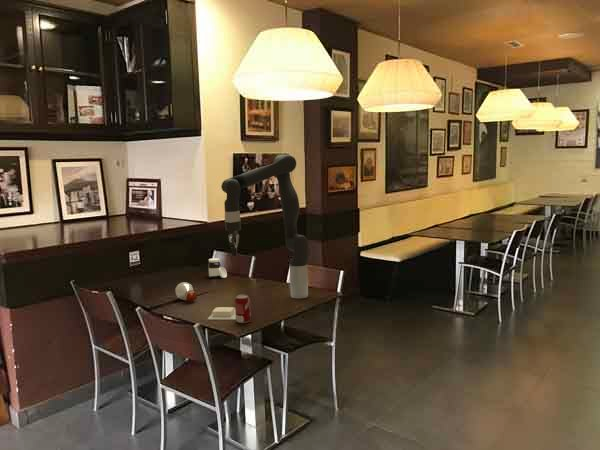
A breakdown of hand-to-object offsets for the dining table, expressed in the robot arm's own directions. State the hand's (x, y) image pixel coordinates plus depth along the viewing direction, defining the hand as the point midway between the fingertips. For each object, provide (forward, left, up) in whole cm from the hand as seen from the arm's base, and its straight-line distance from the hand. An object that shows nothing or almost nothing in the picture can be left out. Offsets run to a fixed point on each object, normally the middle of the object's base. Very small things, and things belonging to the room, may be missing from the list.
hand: (234, 255), depth 239 cm
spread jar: (-65, -30, -27) cm, 77 cm away
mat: (+9, -3, -27) cm, 29 cm away
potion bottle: (-15, -32, -27) cm, 44 cm away
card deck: (+7, -4, -25) cm, 26 cm away
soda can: (+19, +8, -27) cm, 34 cm away
